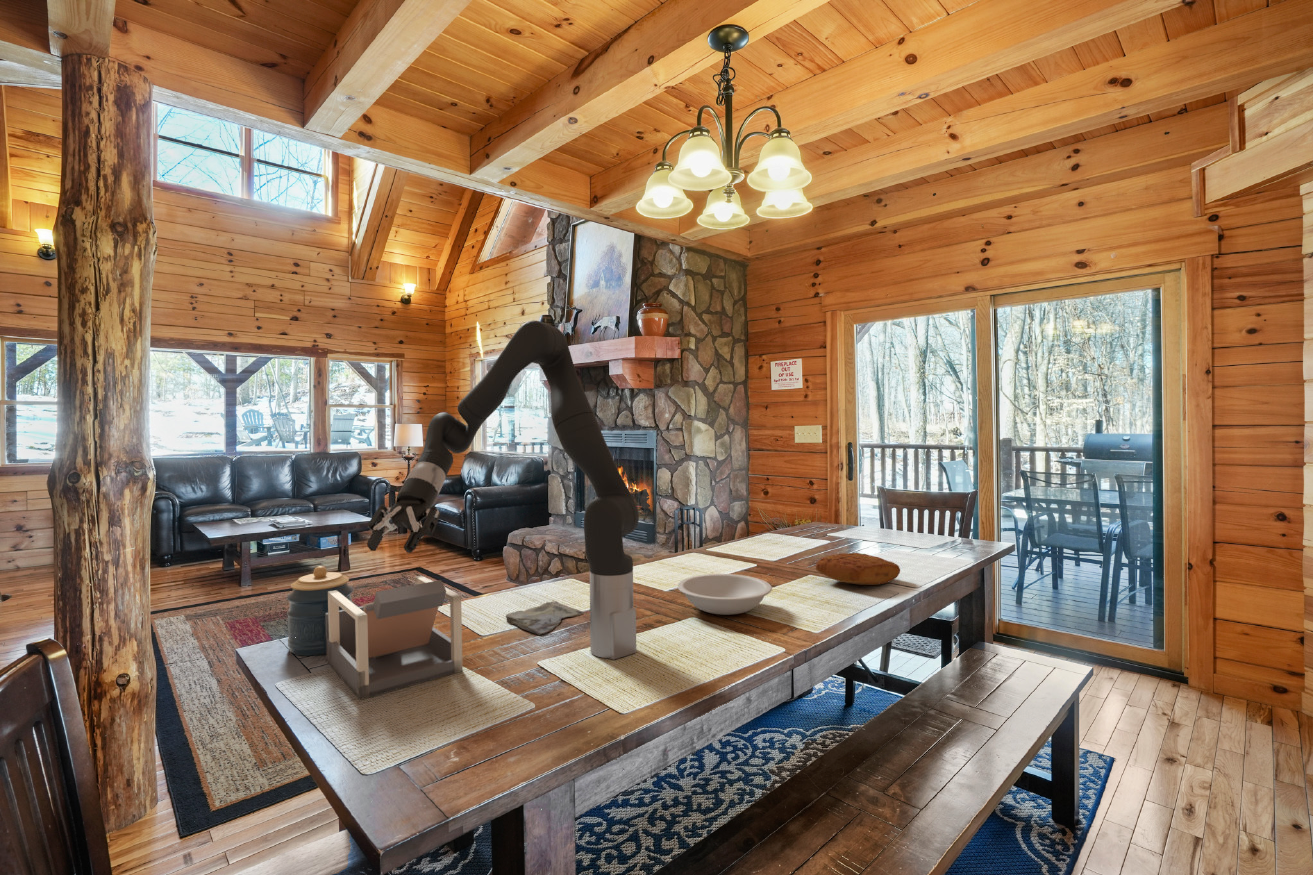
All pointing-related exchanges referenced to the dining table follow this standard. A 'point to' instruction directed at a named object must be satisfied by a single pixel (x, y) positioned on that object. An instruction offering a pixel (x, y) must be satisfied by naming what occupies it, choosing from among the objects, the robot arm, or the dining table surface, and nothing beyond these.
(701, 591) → the soup bowl
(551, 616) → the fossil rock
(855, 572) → the bread loaf
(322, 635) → the canister
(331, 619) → the frame
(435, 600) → the trapdoor
